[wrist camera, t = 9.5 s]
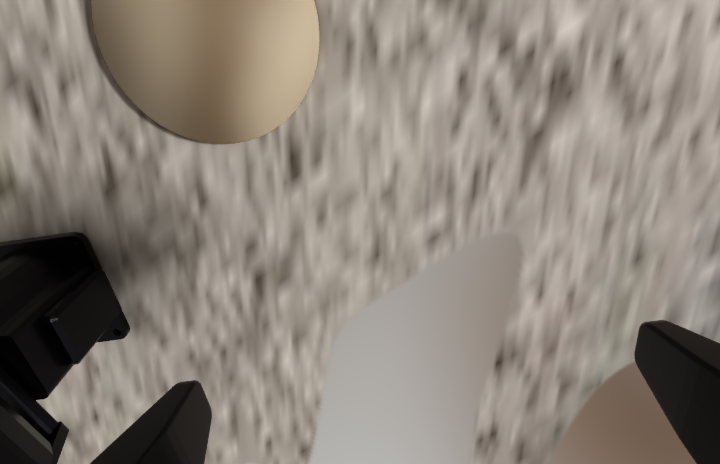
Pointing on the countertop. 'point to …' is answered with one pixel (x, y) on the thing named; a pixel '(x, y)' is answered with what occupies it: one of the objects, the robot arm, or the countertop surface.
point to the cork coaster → (211, 61)
